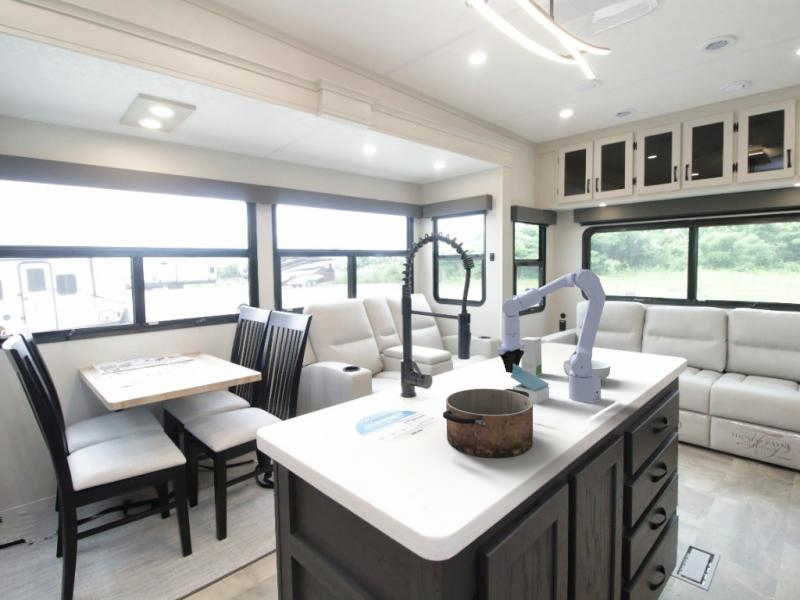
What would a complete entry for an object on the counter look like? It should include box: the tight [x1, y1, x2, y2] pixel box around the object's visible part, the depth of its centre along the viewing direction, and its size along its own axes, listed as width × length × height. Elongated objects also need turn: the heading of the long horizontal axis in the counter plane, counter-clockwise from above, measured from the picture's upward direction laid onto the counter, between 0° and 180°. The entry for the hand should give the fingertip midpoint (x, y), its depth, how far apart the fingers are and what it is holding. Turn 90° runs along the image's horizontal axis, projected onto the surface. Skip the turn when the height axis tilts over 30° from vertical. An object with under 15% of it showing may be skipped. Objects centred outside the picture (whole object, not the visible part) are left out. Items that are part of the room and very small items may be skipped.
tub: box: [512, 383, 550, 405], centre depth 140 cm, size 9×8×4 cm
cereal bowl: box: [563, 359, 611, 381], centre depth 161 cm, size 17×17×7 cm
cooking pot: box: [442, 388, 534, 459], centre depth 109 cm, size 30×22×11 cm
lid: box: [510, 363, 549, 392], centre depth 141 cm, size 14×9×2 cm, turn 42°
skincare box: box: [520, 336, 543, 377], centre depth 173 cm, size 8×7×16 cm
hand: (511, 371), depth 145 cm, fingers closed on lid, 3 cm apart
